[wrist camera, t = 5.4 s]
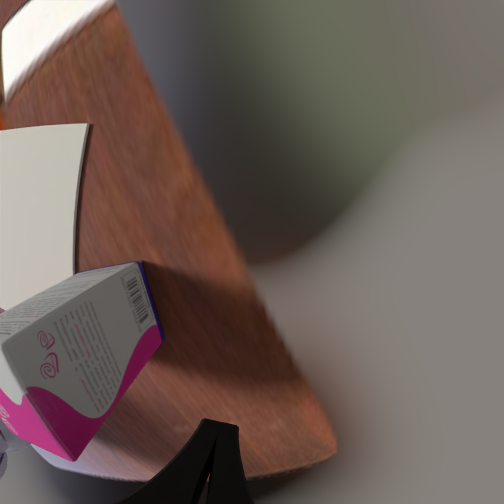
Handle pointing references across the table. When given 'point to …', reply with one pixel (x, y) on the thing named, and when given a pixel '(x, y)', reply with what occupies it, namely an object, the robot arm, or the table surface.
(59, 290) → the supplement box
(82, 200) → the table surface
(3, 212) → the grey mat
